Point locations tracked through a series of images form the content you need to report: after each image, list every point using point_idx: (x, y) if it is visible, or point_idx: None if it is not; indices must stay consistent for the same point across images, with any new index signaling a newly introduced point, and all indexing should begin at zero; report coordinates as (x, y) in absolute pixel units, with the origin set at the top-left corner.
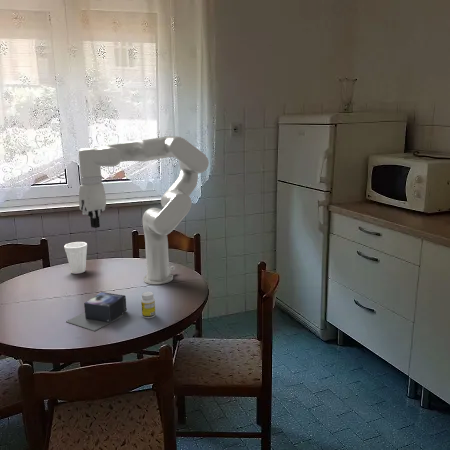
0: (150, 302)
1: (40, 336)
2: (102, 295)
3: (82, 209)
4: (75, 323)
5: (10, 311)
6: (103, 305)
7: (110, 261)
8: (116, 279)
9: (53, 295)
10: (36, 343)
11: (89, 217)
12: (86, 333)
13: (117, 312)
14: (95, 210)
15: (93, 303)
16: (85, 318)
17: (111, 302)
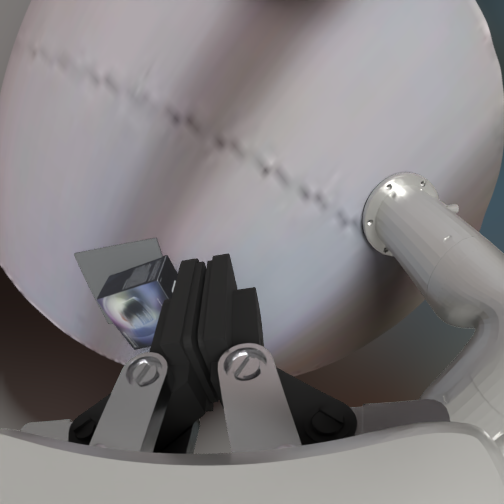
0: None
1: (30, 268)
2: (146, 304)
3: (2, 440)
4: (86, 277)
5: (6, 103)
6: (127, 339)
7: None
8: (338, 97)
9: (111, 62)
10: (24, 284)
11: (138, 360)
12: (95, 317)
13: None
14: (268, 444)
15: (112, 318)
16: (109, 273)
17: (146, 342)
